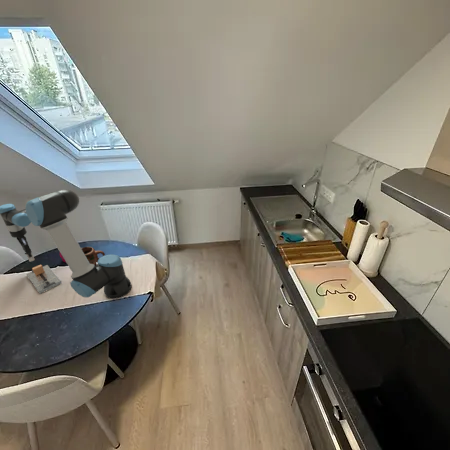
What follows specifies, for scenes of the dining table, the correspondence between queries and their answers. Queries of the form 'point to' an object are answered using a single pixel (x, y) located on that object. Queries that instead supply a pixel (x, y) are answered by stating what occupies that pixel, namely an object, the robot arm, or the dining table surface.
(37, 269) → the fader cap
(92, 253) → the brown mug
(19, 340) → the dining table surface
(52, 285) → the grey slotted slider plate
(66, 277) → the dining table surface
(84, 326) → the dining table surface
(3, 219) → the robot arm
